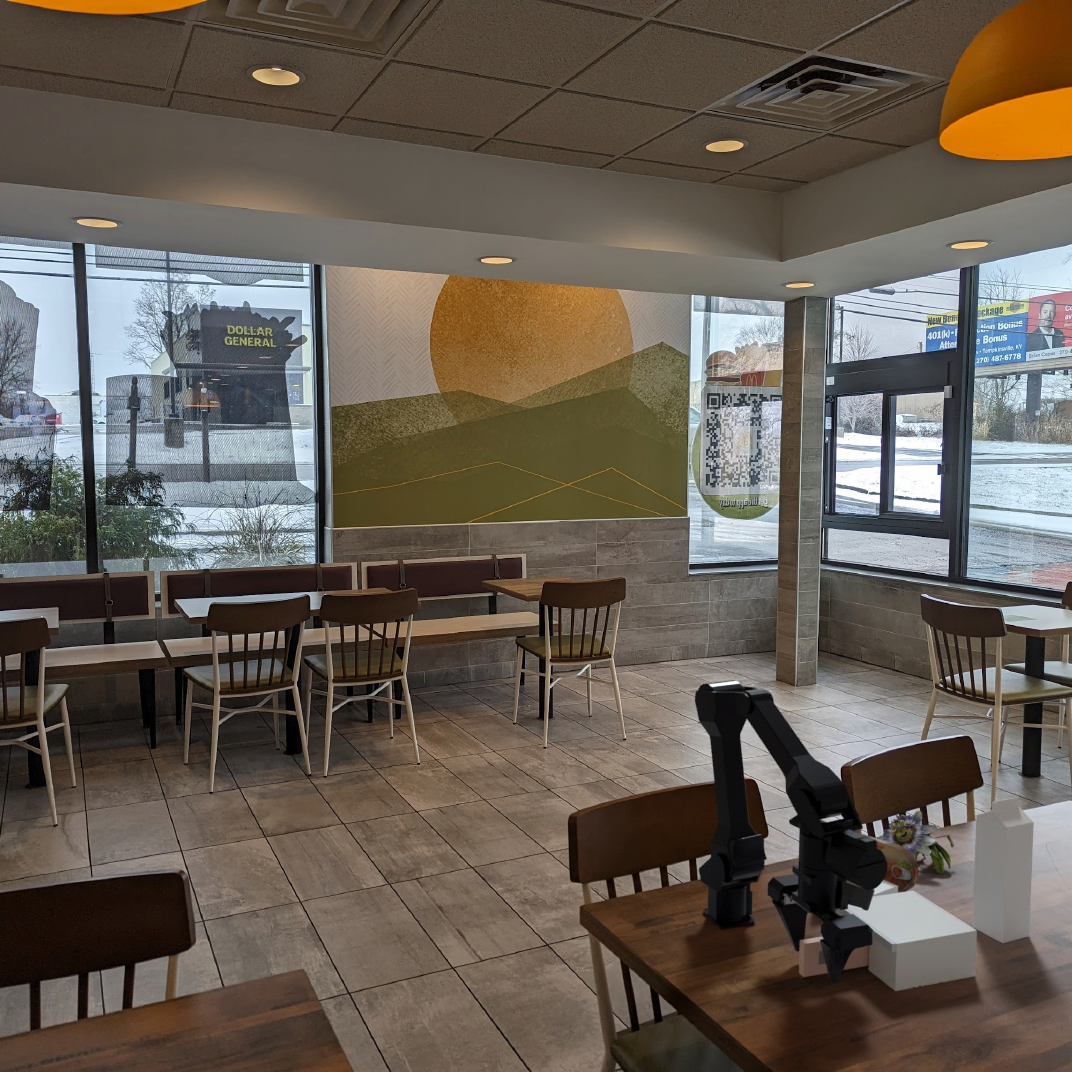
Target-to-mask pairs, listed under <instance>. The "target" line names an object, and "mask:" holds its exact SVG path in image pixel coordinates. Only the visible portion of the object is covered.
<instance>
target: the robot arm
mask: <svg viewBox="0 0 1072 1072" xmlns="http://www.w3.org/2000/svg"><path fill="white" fill-rule="evenodd" d="M774 701H775V700H774V697H773V695H772V692H770V691H769V690H767V689H764V688H757V687H755V686H745V685H744V686H743V685H742V684H741V683H740V682H739V681H738V680H734V679H731V680H724V681H715V682H708V683H706V682H705V683H703V684H701V685H700V686H699V687H698V688H697V690H696V691H695V694H694V704H695V708H696V713H697V718H698V719H697V720H698V722H699V723H700V724H701V726H702V727H703V729H704V730H705V732H706V733H707V734H708V735H709V741H710V749H711V752H710V753H711V761H712V771H713V782H714V791H715V793H714V794H715V802H716V803H715V804H716V811H717V823H718V824H717V826H716V830H715V832H714V834H713V836H712V839H711V841H710V857H709V859H708V860H707V861H705V862H704V863H703V864H702V865H701V866H700V867H699V868H698V872H699V879H700V882H701V883H703V884H704V885H706V886H707V907H706V908H703V909H702V911H703V914H704V915H705V916H707V917H708V918H709V919H710V920H711V921H712V922H713V923H714V924H715V925H716V926H717V928H719V929H728V928H734V927H741V926H747V925H754V924H755V923H756V919H755V918H753V917H752V915H753V902H754V901H753V897H754V895H753V893H754V892H753V891H752V889H751V884H753V883H759V880H760V877H761V874H762V871H764V870H765V866H766V865H765V864H766V863H765V861H766V860H767V859H768V858H767V856H766V853H765V838H764V837H763V834H760V833H759V834H758V833H757V832H756V830H755V829H754V828H753V827H752V825H751V824H750V817H749V809H748V807H749V806H748V799H747V798H748V797H747V789H746V780H745V778H746V777H745V768H744V759H743V752H742V751H743V750H742V742H741V741H742V740H741V739H742V738H741V733H742V731H743V730H744V729H743V728H744V726H745V724H746V722H747V721H748V723H749V724H750V725H751V728H752V729H753V730H754V732H755V734H756V735H757V736H758V738H759V739H760V741H761V743H762V744H763V745H764V746H765V748H766V749H767V751H768V753H769V755H770V756H771V757H772V758H773V760H774V762H775V763H776V765H777V766H778V768H779V769H780V771H781V772H782V774H783V776H784V779H785V793H786V795H787V797H788V799H789V801H790V803H791V805H792V807H793V810H795V813H796V815H795V816H793V817H792V818H790V819H789V820H788V823H789V825H791V826H793V827H795V828H798V829H799V831H798V832H799V833H798V834H799V835H798V864H793V865H792V871H791V872H792V874H785V875H778V876H772V877H771V879H770V880H769V881H768V882H767V896H768V897H770V898H771V899H772V900H771V903H772V904H773V906H774V907H775V909H776V910H777V913H778V915H779V917H780V920H781V921H782V924H783V926H784V928H785V930H786V932H787V935H788V937H789V940H790V942H791V944H792V946H793V949H794V951H796V952H798V953H799V952H800V940H804V939H806V938H805V936H806V926H807V917H808V914H810V915H814V916H815V917H816V918H819V920H820V921H822V923H821V925H820V933H821V937H823V939H820V942H821V946H822V951H823V954H824V958H825V962H826V966H827V971H828V973H827V974H828V977H829V980H830V982H831V983H838V982H839V981H840V979H841V977H842V975H843V974H842V973H843V971H845V970H844V967H845V965H846V963H847V960H848V958H849V956H850V955H851V953H852V951H853V950H854V949H856V948H861V947H864V946H870V945H872V943H873V929H872V928H871V927H870V926H869V925H868V924H866V923H865V922H864V921H862V920H861V919H859V918H858V917H857V916H855V915H854V914H850V915H843V916H840V915H839V914H837V913H836V909H840V910H845V909H848V904H849V905H852V906H856V907H860V908H862V909H863V910H866V911H868V910H869V907H870V904H871V901H872V898H873V895H874V892H875V890H874V889H875V888H877V887H878V886H879V885H880V884H881V883H882V881H883V880H884V878H885V876H886V872H887V861H886V858H885V855H884V854H883V852H882V851H881V850H879V849H877V841H876V840H875V839H873V838H871V837H872V836H871V837H866V836H863V835H861V834H862V833H858V832H857V831H860V830H861V831H862V830H863V827H864V826H863V823H862V822H861V819H860V814H859V813H858V811H857V810H856V808H855V806H854V804H853V801H852V799H851V797H850V795H849V794H850V793H849V791H848V788H847V786H846V784H845V783H844V782H843V780H841V778H839V776H838V775H837V774H836V773H835V772H834V770H832V769H831V768H830V767H829V766H827V765H825V764H824V763H822V762H820V761H818V760H817V759H815V758H814V757H813V756H812V754H811V753H810V752H809V751H808V749H807V747H806V745H804V744H803V742H802V741H801V740H800V738H799V737H798V735H797V734H796V732H795V731H794V730H793V728H792V727H791V725H790V724H789V722H788V720H786V718H785V716H784V715H783V714H782V712H781V711H780V709H779V708H778V706H777V705H776V704H775V702H774ZM837 816H841V817H842V818H840V819H834V820H830V821H826V820H825V819H829V818H834V817H837Z"/></svg>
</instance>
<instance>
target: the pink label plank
mask: <svg viewBox="0 0 1072 1072" xmlns="http://www.w3.org/2000/svg"><path fill="white" fill-rule="evenodd" d="M820 939H823V937H822V936H818V937H817V936H816V937H811V938H804V940H800V951H798V953H799V956H798V957H799V962H798V973H799V974H800V975H801V976H802V977H803V978H806V977H810V976H811V977H812V976H816V975H817V976H818V975H823V974H828V971H827V966H826V962H825V958H824V954H823V951H822V946H821V942H820ZM867 966H868V967H869V946H864V947H861V948H856V949H854V950H853V951H852V953H851V955H850V956H849V958H848V960H847V963H846V965H845V967H844V970H843V971H845V970H851V969H858V968H862V967H867Z"/></svg>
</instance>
